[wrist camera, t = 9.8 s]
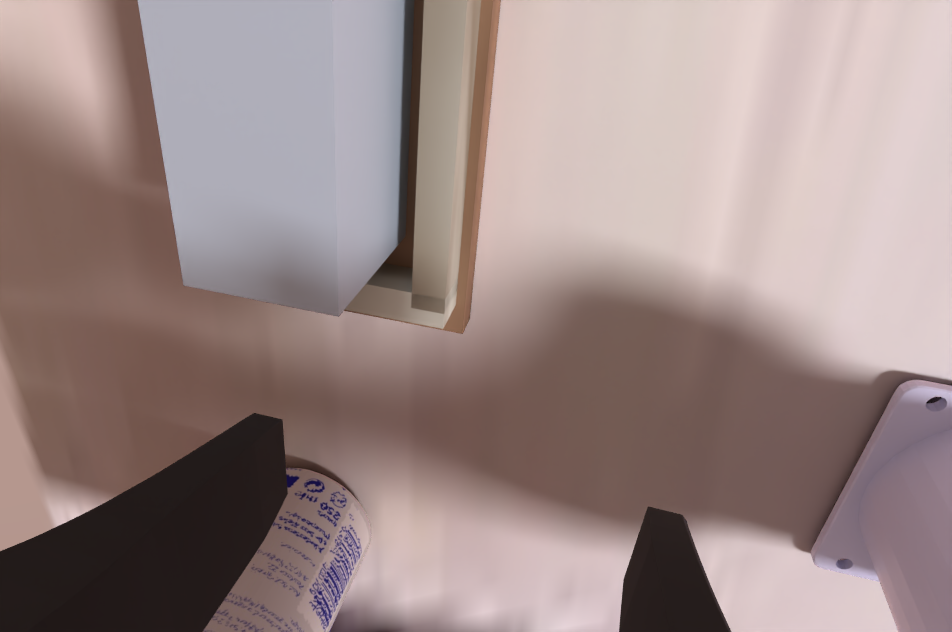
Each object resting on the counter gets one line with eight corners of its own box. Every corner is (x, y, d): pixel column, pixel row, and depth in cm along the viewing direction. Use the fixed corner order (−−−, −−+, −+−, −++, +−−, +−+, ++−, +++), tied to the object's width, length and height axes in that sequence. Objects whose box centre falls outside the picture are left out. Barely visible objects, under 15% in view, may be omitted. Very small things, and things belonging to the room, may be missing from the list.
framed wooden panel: (548, -493, 12) (529, -587, 10) (469, 318, 21) (450, 359, 19) (167, -495, 13) (77, -579, 11) (248, 276, 22) (207, 309, 20)
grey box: (426, -304, 13) (322, -427, 9) (405, 236, 19) (338, 316, 15) (246, -313, 14) (67, -433, 9) (281, 213, 20) (183, 285, 16)
